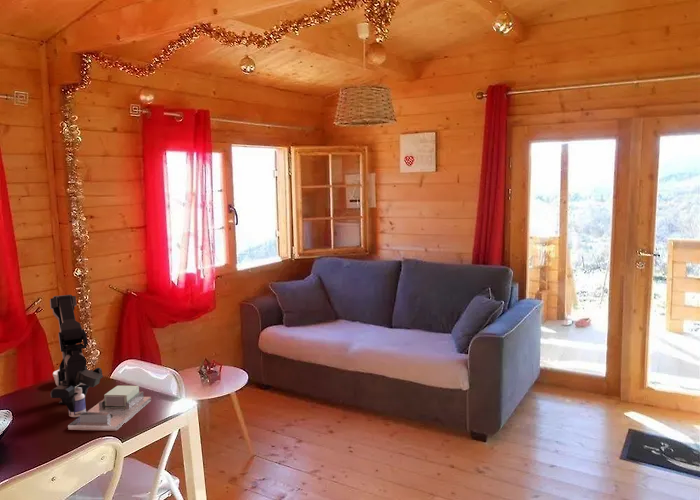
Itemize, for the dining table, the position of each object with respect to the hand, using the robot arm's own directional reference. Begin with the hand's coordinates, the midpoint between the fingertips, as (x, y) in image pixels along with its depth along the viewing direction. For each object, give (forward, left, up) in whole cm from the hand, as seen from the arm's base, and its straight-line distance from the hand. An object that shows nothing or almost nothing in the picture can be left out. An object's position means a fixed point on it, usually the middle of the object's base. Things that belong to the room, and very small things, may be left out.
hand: (77, 408), depth 191 cm
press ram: (+12, +8, 0) cm, 14 cm away
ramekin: (-21, +30, -2) cm, 37 cm away
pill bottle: (0, 0, -2) cm, 2 cm away
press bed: (+12, 0, -2) cm, 12 cm away
